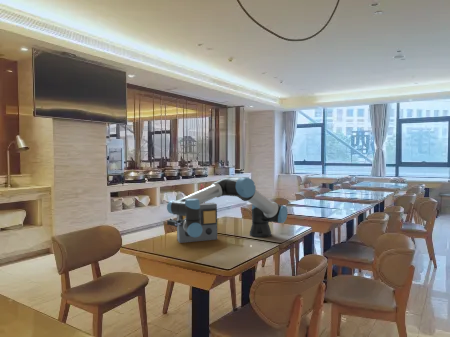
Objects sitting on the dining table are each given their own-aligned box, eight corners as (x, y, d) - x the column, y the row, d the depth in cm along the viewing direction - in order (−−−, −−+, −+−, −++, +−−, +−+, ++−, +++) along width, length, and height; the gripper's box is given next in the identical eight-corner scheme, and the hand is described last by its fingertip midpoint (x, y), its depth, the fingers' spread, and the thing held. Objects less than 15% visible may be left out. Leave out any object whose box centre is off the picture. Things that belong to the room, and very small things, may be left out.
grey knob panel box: (177, 240, 236) (176, 204, 235) (214, 236, 244) (213, 202, 243) (180, 243, 226) (179, 206, 225) (218, 239, 234) (217, 204, 234)
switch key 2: (202, 222, 233) (202, 210, 232) (214, 221, 235) (214, 210, 235) (204, 223, 230) (203, 211, 229) (215, 222, 232) (215, 210, 232)
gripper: (166, 234, 188) (161, 226, 208) (211, 229, 196) (201, 223, 216) (166, 220, 188) (160, 214, 208) (210, 216, 196) (201, 211, 216)
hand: (181, 218), depth 212 cm, fingers open, 13 cm apart
